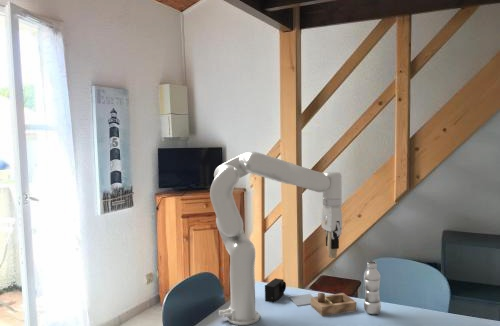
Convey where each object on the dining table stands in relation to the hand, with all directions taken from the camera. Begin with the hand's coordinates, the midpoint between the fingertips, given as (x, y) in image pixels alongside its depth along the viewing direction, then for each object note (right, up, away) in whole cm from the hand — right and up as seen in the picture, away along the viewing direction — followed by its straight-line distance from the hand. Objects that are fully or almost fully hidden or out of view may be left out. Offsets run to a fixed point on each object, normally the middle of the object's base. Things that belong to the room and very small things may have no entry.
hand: (332, 246), depth 163 cm
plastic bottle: (+15, -25, -5) cm, 29 cm away
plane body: (0, -25, 0) cm, 25 cm away
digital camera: (-22, -25, +12) cm, 36 cm away
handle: (0, -4, 0) cm, 4 cm away
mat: (-10, -25, +9) cm, 28 cm away
